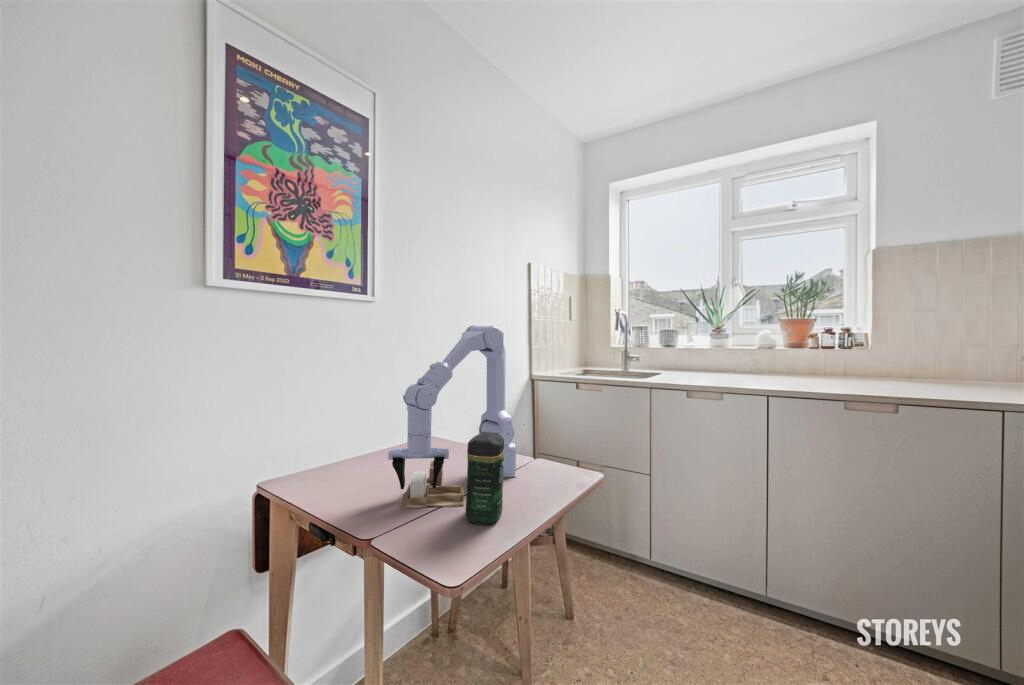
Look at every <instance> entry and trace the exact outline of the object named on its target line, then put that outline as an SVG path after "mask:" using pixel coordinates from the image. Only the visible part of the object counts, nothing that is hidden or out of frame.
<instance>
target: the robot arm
mask: <svg viewBox="0 0 1024 685" xmlns="http://www.w3.org/2000/svg"><path fill="white" fill-rule="evenodd" d="M504 336H505V335H504V332H503V331H502V330H501V329H500V328H499V327H498V326H497V325H474V324H473V325H470V326H468V327H467V328H466V330H465V331H463V332H462V333H461V336H460V339H459V340H458V341H457V343H456V344H455V346H453V348H452V349H451V350H450V351H449V353H448V354H447V355H446V356H445V357H444V359H443V360H442V361H436V362H434V363H431V364H430V365H429V369H428V370H427V371H426V372H424V374H423V376H422V377H419V378H418V379H417V381H416V383H411V384H410V385H409V386H408V387H407V388H406V390H405V392H404V393H405V394H403V395H402V398H403V402H404V404H406V411H407V437H406V438H407V442H406V443H407V445H406V446H407V448H406V447H405V448H399V449H389V450H388V451H387V452H388V453H387V454H388V455H387V460H388V461H392V463H391V464H392V467H393V469H394V471H395V473H396V475H397V478H398V481H399V486H400V487H399V488H400V490H405V487H406V485H405V484H406V478H405V476H406V475H405V469H406V459H407V460H408V459H409V460H410V459H414V460H415V459H416V460H417V459H433V461H434V462H433V488H436V481H437V478H438V475H439V472H440V470H441V468H442V466H443V467H444V464H445V460H448V459H449V457H450V449H449V448H438V447H436V448H435V447H432V415H433V414H432V407H433V406H435V405H436V403H437V401H438V396H439V394H440V391H441V390H442V389H443V388H444V387H445V386H446V384H447V383H449V381H450V380H451V379H452V378H453V376H454V375H453V370H454V369H455V368H456V367H457V366H458V365H459V364H460V363H461V362H462V361H463V360H464V359H465V358H466V357H467V356H468V355H470V354H471V353H472V352H474V351H475V352H476V351H479V352H480V353H481V354H482V355H483V356H484V357H485V358H486V410H485V411H484V413H482V414H481V417H480V423H479V426H478V434H481V433H482V432H492V433H498V434H499V435H500V436H502V437H503V438H504V463H503V478H515V477H516V476H517V475H516V468H517V463H516V461H517V459H516V458H517V455H516V454H517V450H516V443H514V442H513V439H514V437H515V428H514V424H513V417H512V416H511V415H510V414H509V413H508V412H507V410H506V349H505V345H504V344H505V343H504V342H505V341H504V338H505V337H504Z"/></svg>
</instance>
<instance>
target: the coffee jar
mask: <svg viewBox="0 0 1024 685" xmlns="http://www.w3.org/2000/svg"><path fill="white" fill-rule="evenodd" d="M466 452H467V456H466V457H467V459H466V460H467V472H466V474H467V475H466V477H467V478H466V496H465V498H466V499H465V518H466V520H467V521H469V522H472V523H473V524H477V525H486V524H488V525H489V524H495V523H496V522H497V521H498V520H499V519H500V517H501V515H502V512H503V502H504V501H503V500H504V498H503V496H504V494H503V492H504V491H503V490H504V488H503V487H504V485H503V484H504V477H503V463H504V438H503V437H502V436H500V435H499V434H498V433H492V432H482V433H481V434H479V433H478V434H476V435H474V436H473V437H471V439H470V440H469V441H468V442H467V451H466Z"/></svg>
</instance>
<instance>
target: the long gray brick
mask: <svg viewBox="0 0 1024 685" xmlns="http://www.w3.org/2000/svg"><path fill="white" fill-rule="evenodd" d="M427 474H428V471H413V474H412V477H411V479H410V482H409V484H410V499H413V498H425V495H426V487H427V483H428V482H427V481H428V480H427V479H428V476H427Z"/></svg>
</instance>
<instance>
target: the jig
mask: <svg viewBox="0 0 1024 685" xmlns="http://www.w3.org/2000/svg"><path fill="white" fill-rule="evenodd" d="M464 492H465V491H464V484H462V485H461V484H460V485H441V486H436V488H433V486H430V483H429V482H427V487H426V495H425V498H413V499H410V483H409V484H408V486H407V489H406V492H405V495H404V498H403V505H402V506H403V507H402V508H407V507H411V508H428V507H427V506H442V507H463V506H464ZM425 506H426V507H425Z"/></svg>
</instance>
